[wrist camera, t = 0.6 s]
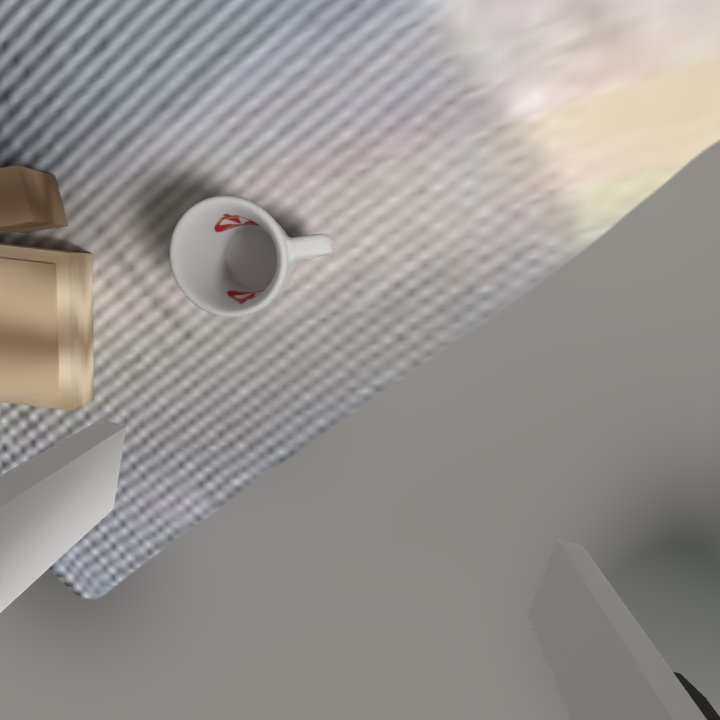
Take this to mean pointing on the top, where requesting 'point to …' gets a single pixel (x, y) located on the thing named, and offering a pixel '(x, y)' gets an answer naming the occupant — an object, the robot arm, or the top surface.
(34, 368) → the tan square tray
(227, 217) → the cup
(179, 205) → the top surface
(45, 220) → the walnut block
